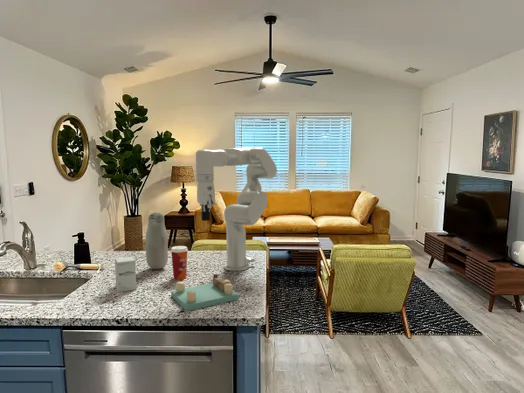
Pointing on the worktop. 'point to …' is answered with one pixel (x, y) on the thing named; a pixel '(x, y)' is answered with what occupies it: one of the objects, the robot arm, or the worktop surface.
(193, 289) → the stool seat
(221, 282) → the folding leg
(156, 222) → the grey ceramic bottle
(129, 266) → the supplement box
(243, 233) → the robot arm
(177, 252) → the paper cup
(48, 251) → the worktop surface
